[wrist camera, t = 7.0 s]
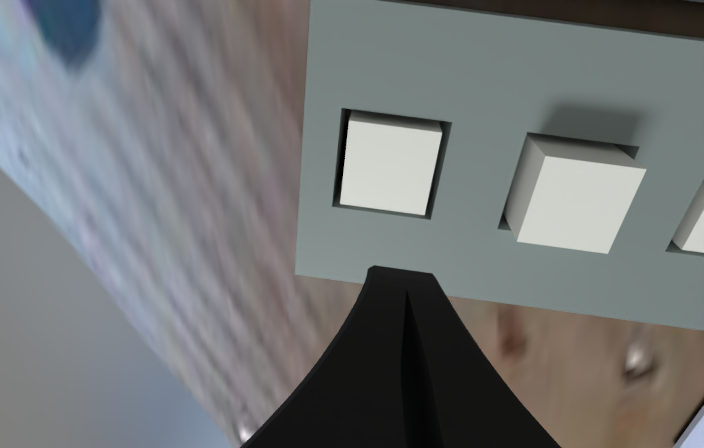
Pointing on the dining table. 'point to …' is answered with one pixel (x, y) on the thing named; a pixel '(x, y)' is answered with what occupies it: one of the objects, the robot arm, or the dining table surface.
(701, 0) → the pattern card
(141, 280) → the dining table surface
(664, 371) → the dining table surface
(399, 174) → the button outer
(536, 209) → the button middle
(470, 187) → the button board
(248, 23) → the dining table surface
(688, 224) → the button inner
